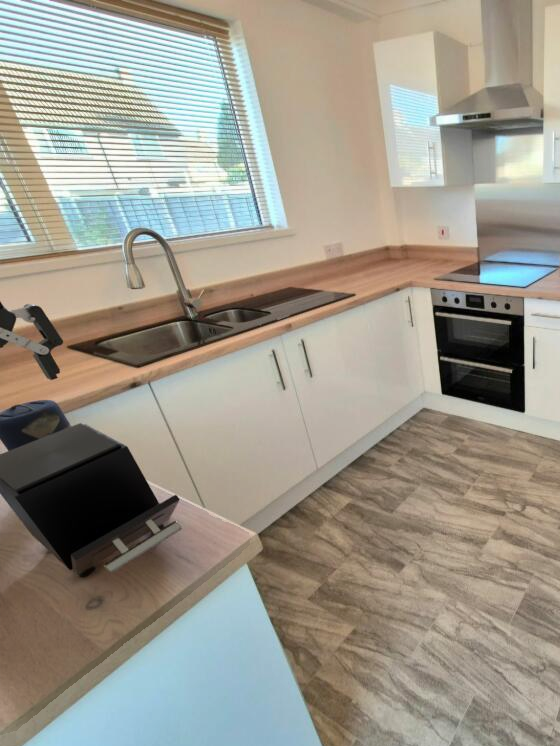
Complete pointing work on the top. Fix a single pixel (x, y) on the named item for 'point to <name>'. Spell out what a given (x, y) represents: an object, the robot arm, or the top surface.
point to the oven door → (128, 539)
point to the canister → (30, 422)
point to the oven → (74, 489)
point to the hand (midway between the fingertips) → (11, 391)
